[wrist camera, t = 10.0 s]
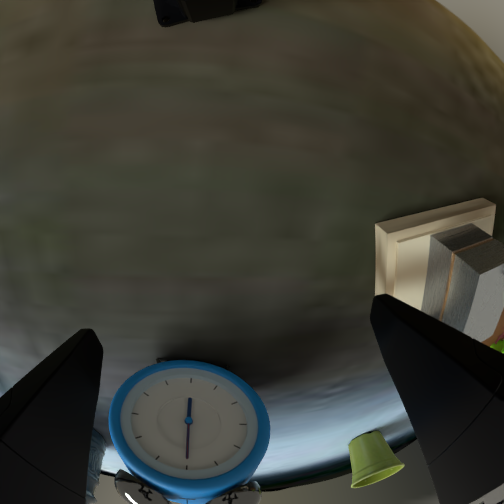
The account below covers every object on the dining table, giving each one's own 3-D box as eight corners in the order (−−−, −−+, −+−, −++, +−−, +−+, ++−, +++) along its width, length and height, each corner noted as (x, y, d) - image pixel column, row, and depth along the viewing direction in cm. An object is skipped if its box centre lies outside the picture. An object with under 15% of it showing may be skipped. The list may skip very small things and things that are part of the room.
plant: (416, 373, 32) (450, 435, 22) (508, 263, 25) (562, 311, 15) (461, 387, 38) (486, 429, 28) (528, 308, 31) (562, 345, 21)
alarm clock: (261, 361, 26) (285, 510, 13) (251, 396, 29) (266, 522, 15) (125, 347, 24) (89, 493, 11) (133, 385, 27) (111, 509, 13)
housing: (420, 313, 22) (457, 362, 17) (430, 235, 19) (485, 279, 13) (458, 297, 22) (496, 339, 16) (471, 223, 19) (524, 259, 13)
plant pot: (396, 428, 40) (411, 464, 32) (355, 452, 42) (367, 487, 35) (374, 421, 36) (391, 464, 29) (329, 447, 39) (340, 489, 31)
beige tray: (375, 223, 20) (389, 235, 18) (482, 197, 20) (498, 205, 18) (373, 319, 25) (383, 335, 23) (469, 282, 25) (481, 293, 23)
